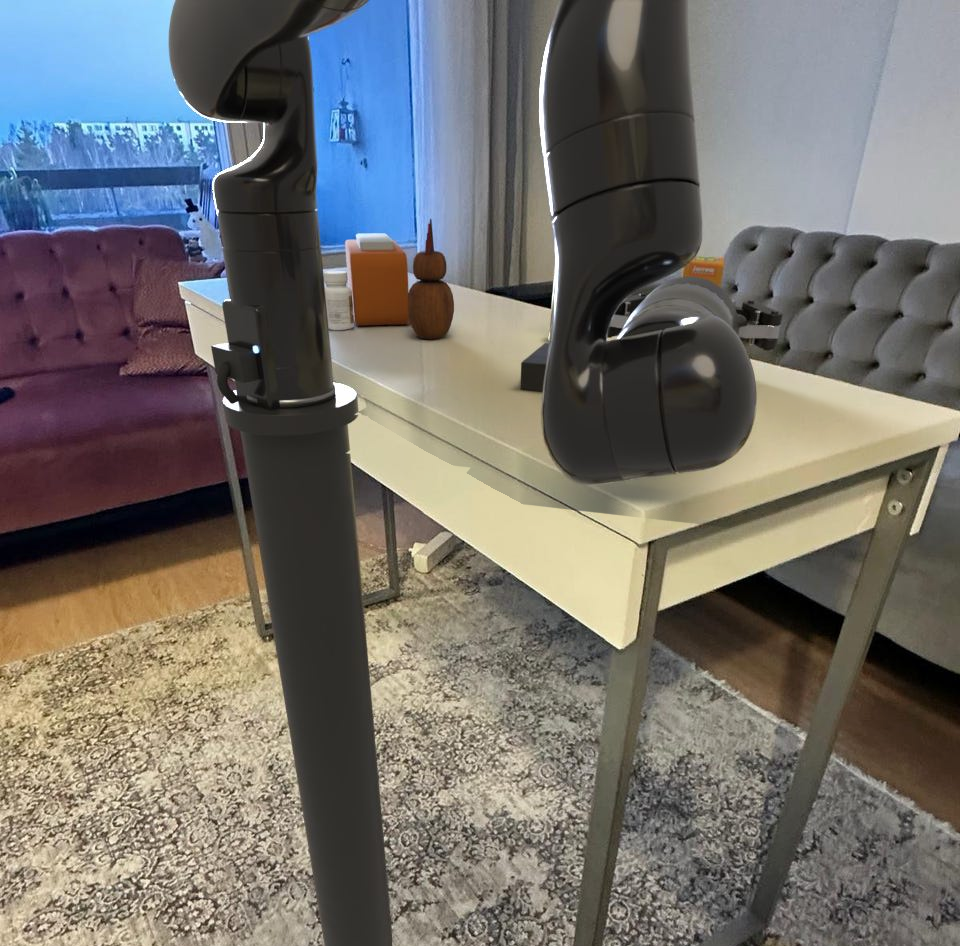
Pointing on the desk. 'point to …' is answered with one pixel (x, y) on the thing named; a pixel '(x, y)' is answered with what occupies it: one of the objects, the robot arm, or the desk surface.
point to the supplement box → (705, 268)
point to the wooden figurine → (430, 293)
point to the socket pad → (534, 369)
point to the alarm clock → (377, 280)
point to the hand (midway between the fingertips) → (698, 305)
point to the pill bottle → (338, 301)
